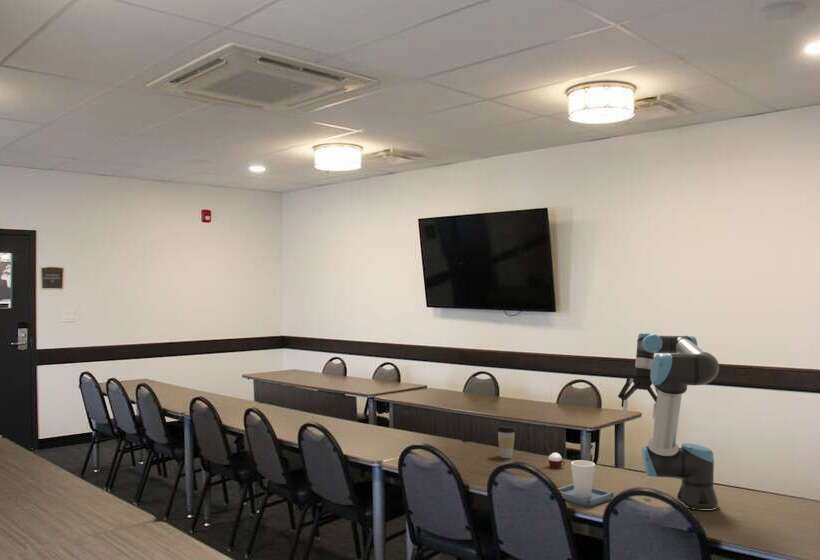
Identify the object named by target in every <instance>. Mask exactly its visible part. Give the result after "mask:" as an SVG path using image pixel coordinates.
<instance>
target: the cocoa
mask: <svg viewBox="0 0 820 560" xmlns="http://www.w3.org/2000/svg"><path fill="white" fill-rule="evenodd" d="M544 443H545V446H546V449H547V452H548V454H549V455H548V464H549V466H550V468H552V467H553V469H559V468H561V467H564V465H565V463H566V462H565V460H562V459H563V458H562V456H561V454H560V453H559V452H552V453H551V449H550V447H549V443H548V441H547V440H546V439H545V440H544ZM562 463H563V464H562Z"/></svg>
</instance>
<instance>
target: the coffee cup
mask: <svg viewBox="0 0 820 560" xmlns="http://www.w3.org/2000/svg"><path fill="white" fill-rule="evenodd" d="M496 431H497V434H498V435H497V439H498V447H499V448H498V449H499V456H500V458H503V459H511V458H512V457H513V453H514V446H515V433H516V432H517V429H516V428H515V426H514V425H510V424H509V425H508V424H503V425H502V424H501V425H498V427H497V428H496Z"/></svg>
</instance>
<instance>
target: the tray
mask: <svg viewBox="0 0 820 560" xmlns="http://www.w3.org/2000/svg"><path fill="white" fill-rule="evenodd" d="M557 489H559V490H560V492H561V493H562V495H563V497H564V498H565V500H564V501H566V500H567V501H566V502H570V503H573V504H576V505H580V506H583V507H587V508H592V507H595V506H598V505H601V504H604V503H606V502H609V501H612V500H611V498H613V499H614V493H613V492H610V491H607V490H604V489H601V488H596V487H593V486H592V491H591V497H588V498H582V497H578V496H576V495H575V492H574V484H573V483H570V484H568V485H564V486H562V487H559V488H557Z"/></svg>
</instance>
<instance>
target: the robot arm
mask: <svg viewBox="0 0 820 560" xmlns="http://www.w3.org/2000/svg"><path fill="white" fill-rule="evenodd" d="M655 354H656V355H655ZM635 355H636V356H635V365H634V366H635V368H634V372H633V373H634V374H633V375H634V376H633V378H630V377H627V378H626V382H625V384H624V385H623V387H622V388H621V390H620V391H619V394H618V396H617V397H618V398H619V399H621V407H622V414H621V415H622V416H627V415H628V404H629V401H628V399H629V398H630V396H632V395H633V394H634V393H635V392H636V391H637V390H644V391H647V392H648V393H649V395H650V396H651V397H652V400H653V401H654V403H653V406H652V407H653V410H652V419H654V421H653V429H652V430H653V431H652V438H651V439H649V440H648V442H647V446H646V445H644V446H642V448H641V456H642V462H643V468H644V472H645V474H646V475H647V476H649V477H653V478H654V477H655V478H675V479H676V478H677V479H678V478H679V479H681V483H680V487H679V490H678V493H677V495H676V500H677V499H678V500H680V501H681V502H683V503H684V504H685V505H686V506H688V507H689V508H691V509H690V510H692V508H695V509H713V508H716V507H718V508H719V500H718V497H717V493H716V491H715V488H714V487H715V486H714V481H715V479H714V478H715V477H714V476H715V475H714V473H715V472H714V465H715V459H714V452H713V450H711V448H708V447H706V446H704V445H699V444H695V443H687V442H684V443H682V444H681V447H679V445H678V444H677V442H676V441H677V435H678V434H677V433H678V425H679V418H680V412H681V411H680V409H681V401H682V396H683V394H685V393H686V392H687V390H688V386H703V385H707V384H709V383H711V382H712V381H713V380H714V379H715V378H716V377H717V376H718V374H719V371H720V364H719V362H718V359H717V358H716V357H715V356H714V355H713V354H711V353H709V352H706V351H703V349H701V347H699V346H698V341H697V337H695V336H691V335H657V334H654V333H650V332H649V333H648V332H640V333H638V336H637V340H636V354H635ZM631 384H632V386H631ZM630 386H631V388H630ZM651 386H653V387H654V389H655V392H656V393H655V392H654V390H653V388H652V387H651Z"/></svg>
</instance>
